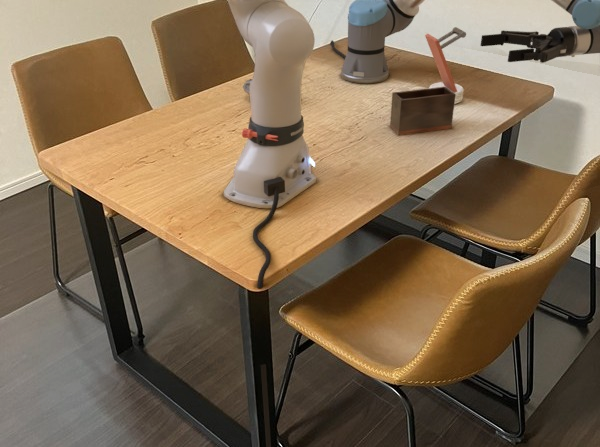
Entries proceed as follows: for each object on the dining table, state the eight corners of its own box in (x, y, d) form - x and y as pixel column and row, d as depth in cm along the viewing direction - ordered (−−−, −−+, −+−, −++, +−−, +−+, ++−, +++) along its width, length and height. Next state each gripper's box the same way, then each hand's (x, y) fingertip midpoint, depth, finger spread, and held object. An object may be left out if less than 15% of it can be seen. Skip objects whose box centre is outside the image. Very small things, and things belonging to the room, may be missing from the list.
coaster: (424, 93, 186) (425, 82, 184) (456, 91, 187) (457, 80, 185) (433, 106, 178) (434, 94, 176) (467, 104, 179) (468, 92, 177)
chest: (398, 135, 162) (401, 100, 157) (389, 126, 167) (392, 92, 162) (451, 128, 165) (455, 94, 160) (441, 120, 170) (445, 86, 165)
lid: (435, 41, 151) (464, 24, 150) (424, 35, 156) (452, 18, 155) (454, 93, 160) (481, 76, 159) (444, 85, 164) (470, 69, 164)
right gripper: (594, 70, 156) (519, 78, 151) (537, 42, 176) (469, 48, 171) (601, 40, 152) (524, 48, 147) (542, 15, 172) (473, 21, 167)
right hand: (494, 48), depth 159 cm, fingers open, 13 cm apart
